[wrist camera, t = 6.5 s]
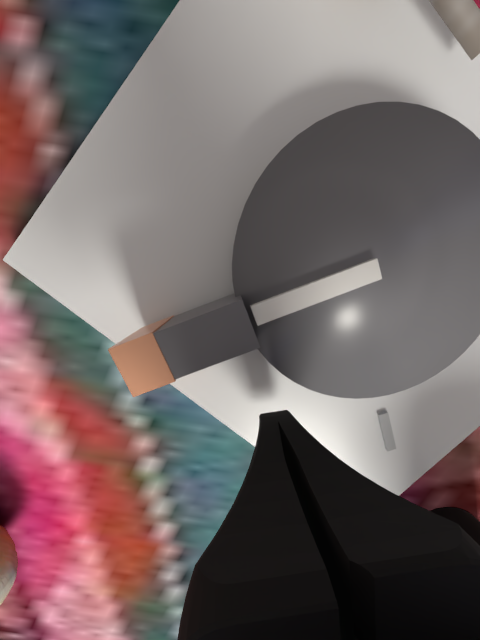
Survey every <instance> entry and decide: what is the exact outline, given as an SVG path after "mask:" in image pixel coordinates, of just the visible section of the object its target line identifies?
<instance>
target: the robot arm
mask: <svg viewBox="0 0 480 640" xmlns="http://www.w3.org/2000/svg"><path fill="white" fill-rule="evenodd" d="M178 640H480V546H479V545H478V544H477V543H476V542H475V541H474V540H473V539H472V538H471V537H470V536H469V535H468V534H467V533H466V532H465V531H464V530H463V529H462V528H461V527H460V526H459V525H458V524H457V523H455V522H453V521H451V520H448V519H446V518H444V517H442V516H440V515H437V514H435V513H433V512H431V511H428V510H426V509H424V508H422V507H420V506H417V505H415V504H413V503H411V502H409V501H408V500H406V499H404V498H402V497H400V496H398V495H396V494H394V493H392V492H390V491H389V490H387V489H385V488H383V487H381V486H380V485H378V484H376V483H375V482H373V481H372V480H370V479H368V478H367V477H365V476H363V475H362V474H360V473H359V472H357V471H356V470H354V469H353V468H351V467H350V466H348V465H347V464H346V463H344V462H343V461H342V460H340V459H339V458H338V457H336V456H335V455H334V454H333V453H331V452H330V451H329V450H328V449H327V448H325V447H324V446H323V445H322V444H321V443H320V442H319V441H317V440H316V439H315V438H314V437H313V436H312V435H311V434H310V433H309V432H308V431H307V430H306V429H305V428H304V427H303V426H302V425H301V424H300V423H299V422H298V421H297V420H296V419H295V417H294V416H293V415H292V414H291V413H290V412H289V411H288V410H282V411H276V412H269V413H262V414H260V416H259V431H258V437H257V441H256V446H255V450H254V453H253V457H252V460H251V463H250V466H249V469H248V472H247V474H246V477H245V479H244V482H243V484H242V487H241V489H240V491H239V493H238V495H237V497H236V500H235V502H234V504H233V505H232V507H231V509H230V511H229V513H228V514H227V516H226V518H225V520H224V521H223V523H222V525H221V527H220V529H219V530H218V532H217V533H216V535H215V537H214V538H213V540H212V541H211V543H210V544H209V545H208V547H207V548H206V550H205V551H204V553H203V554H202V556H201V557H200V559H199V560H198V562H197V563H196V565H195V568H194V571H193V574H192V577H191V580H190V584H189V587H188V591H187V595H186V598H185V603H184V607H183V612H182V616H181V621H180V627H179V634H178Z"/></svg>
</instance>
